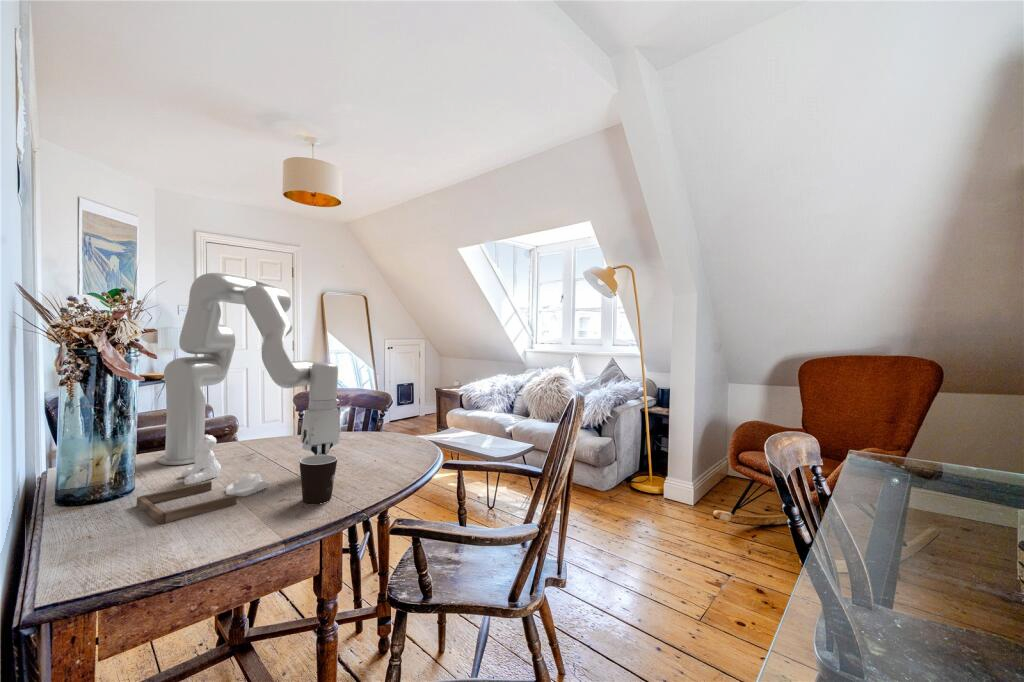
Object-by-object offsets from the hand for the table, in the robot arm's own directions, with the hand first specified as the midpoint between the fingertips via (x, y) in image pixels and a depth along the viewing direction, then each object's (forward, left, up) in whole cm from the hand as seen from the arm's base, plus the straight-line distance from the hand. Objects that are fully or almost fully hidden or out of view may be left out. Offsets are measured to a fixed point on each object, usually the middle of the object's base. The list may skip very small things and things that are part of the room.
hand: (320, 466), depth 126 cm
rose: (0, -20, -2) cm, 20 cm away
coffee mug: (+18, -10, -2) cm, 21 cm away
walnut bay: (0, -32, -2) cm, 33 cm away
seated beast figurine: (-18, -23, -2) cm, 30 cm away
